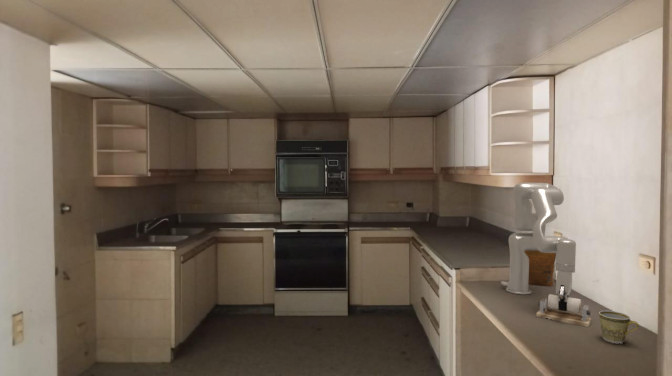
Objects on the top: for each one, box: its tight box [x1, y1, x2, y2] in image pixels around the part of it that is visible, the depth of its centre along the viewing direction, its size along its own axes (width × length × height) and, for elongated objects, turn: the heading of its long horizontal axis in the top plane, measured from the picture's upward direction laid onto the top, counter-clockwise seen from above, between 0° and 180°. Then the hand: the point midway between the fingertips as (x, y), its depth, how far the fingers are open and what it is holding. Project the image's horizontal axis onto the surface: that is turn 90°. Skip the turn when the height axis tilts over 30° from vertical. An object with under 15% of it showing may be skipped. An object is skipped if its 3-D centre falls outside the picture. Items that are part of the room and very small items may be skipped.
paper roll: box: [547, 293, 582, 314], centre depth 187 cm, size 12×6×6 cm, turn 53°
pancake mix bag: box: [525, 251, 556, 287], centre depth 244 cm, size 7×19×28 cm, turn 72°
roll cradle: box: [535, 297, 592, 328], centre depth 187 cm, size 20×9×7 cm, turn 53°
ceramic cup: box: [598, 310, 640, 345], centre depth 162 cm, size 13×10×10 cm
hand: (563, 308), depth 187 cm, fingers closed on paper roll, 6 cm apart
